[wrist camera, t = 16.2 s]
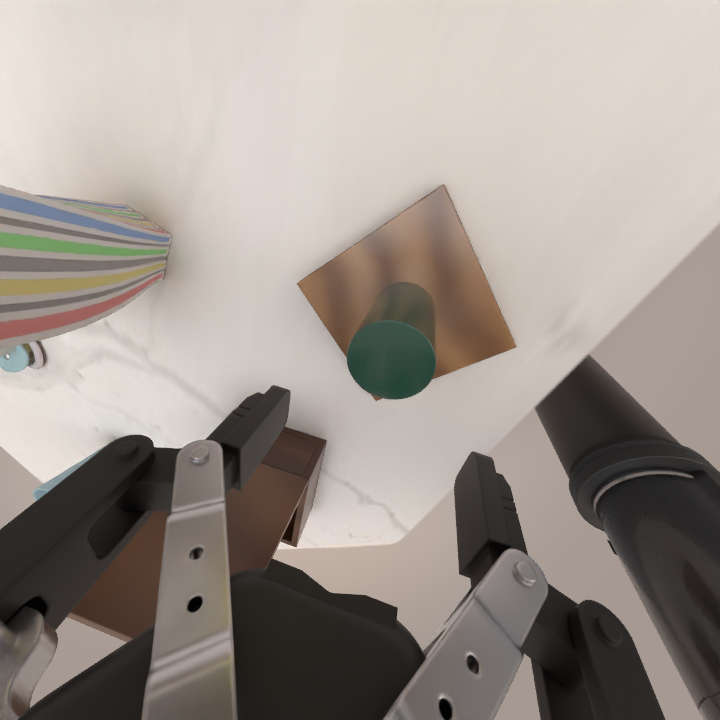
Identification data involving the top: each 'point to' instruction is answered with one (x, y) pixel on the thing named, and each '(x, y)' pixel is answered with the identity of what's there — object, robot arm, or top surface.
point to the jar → (395, 343)
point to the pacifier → (21, 357)
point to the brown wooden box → (297, 472)
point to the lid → (144, 553)
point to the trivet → (421, 267)
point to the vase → (70, 263)
